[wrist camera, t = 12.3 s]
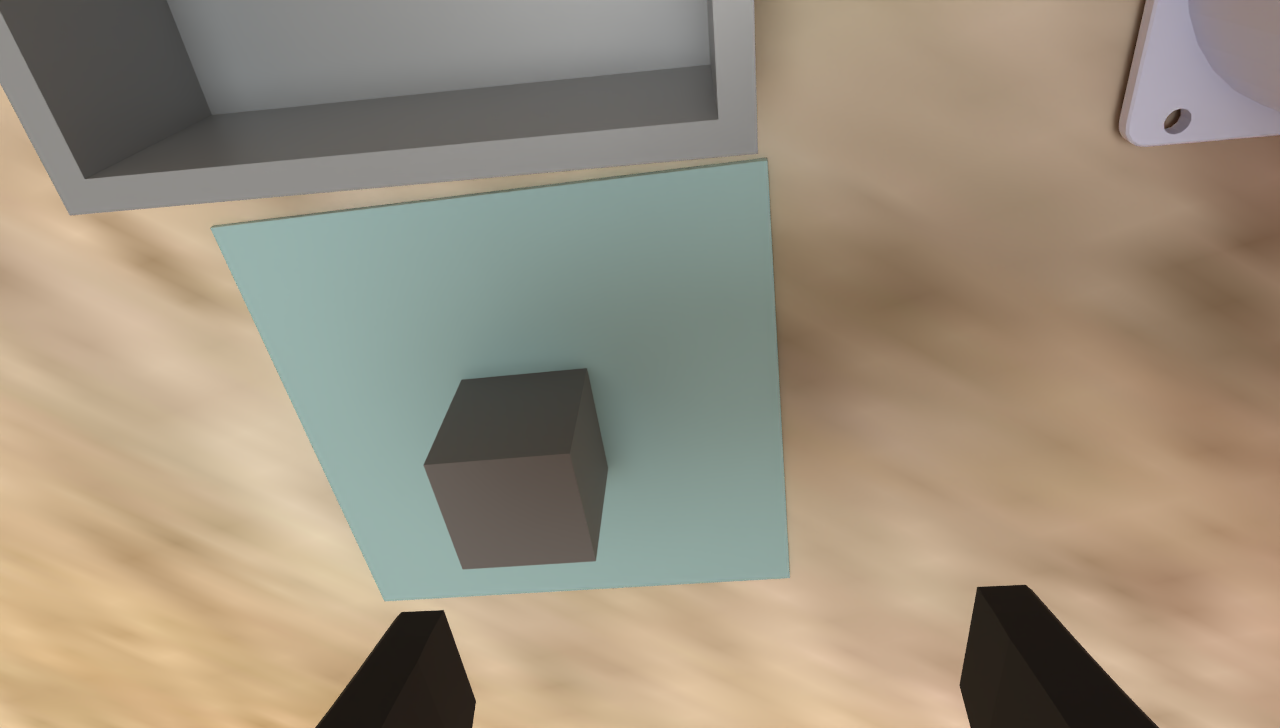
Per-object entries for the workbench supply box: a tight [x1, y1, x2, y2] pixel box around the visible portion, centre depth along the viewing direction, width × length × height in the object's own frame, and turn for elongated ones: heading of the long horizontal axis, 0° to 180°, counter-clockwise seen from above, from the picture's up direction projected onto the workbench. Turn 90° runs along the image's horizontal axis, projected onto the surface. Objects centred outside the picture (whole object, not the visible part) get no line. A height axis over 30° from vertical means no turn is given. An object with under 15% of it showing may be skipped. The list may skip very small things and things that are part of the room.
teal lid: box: [211, 158, 790, 601], centre depth 20 cm, size 14×14×4 cm
